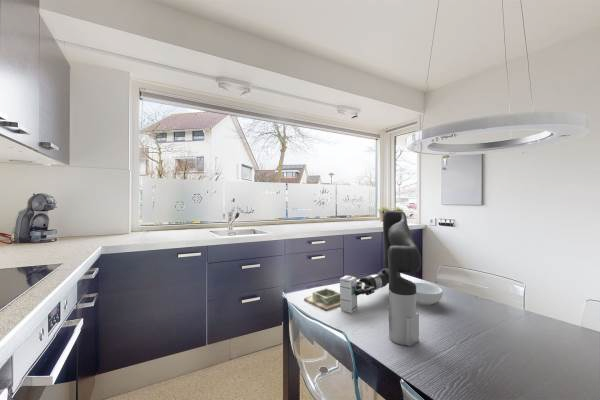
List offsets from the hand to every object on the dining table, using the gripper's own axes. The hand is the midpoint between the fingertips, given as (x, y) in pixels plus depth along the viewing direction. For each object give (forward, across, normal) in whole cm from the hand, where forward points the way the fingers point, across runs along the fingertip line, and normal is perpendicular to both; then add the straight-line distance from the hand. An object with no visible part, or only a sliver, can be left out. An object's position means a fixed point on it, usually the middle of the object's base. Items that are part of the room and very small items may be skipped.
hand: (348, 290), depth 120 cm
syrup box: (0, 0, +9) cm, 9 cm away
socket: (+1, -13, +8) cm, 16 cm away
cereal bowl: (-34, +17, +9) cm, 39 cm away
